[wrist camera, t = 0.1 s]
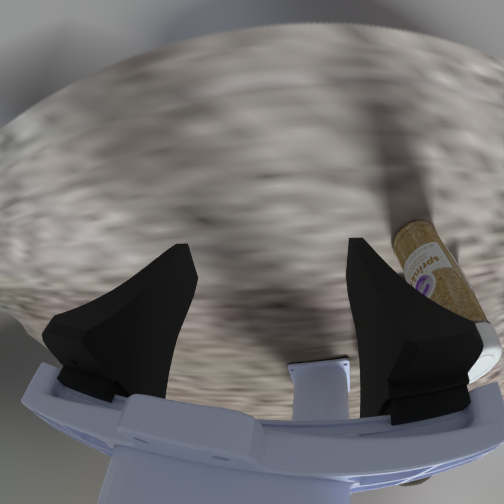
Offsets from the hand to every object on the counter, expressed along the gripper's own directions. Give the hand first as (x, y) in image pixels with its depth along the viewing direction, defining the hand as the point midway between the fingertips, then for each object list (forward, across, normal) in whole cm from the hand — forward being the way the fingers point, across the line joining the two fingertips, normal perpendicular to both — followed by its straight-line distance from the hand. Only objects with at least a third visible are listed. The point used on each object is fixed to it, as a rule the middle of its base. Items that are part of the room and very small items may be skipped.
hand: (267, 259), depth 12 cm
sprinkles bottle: (+10, -12, +6) cm, 17 cm away
